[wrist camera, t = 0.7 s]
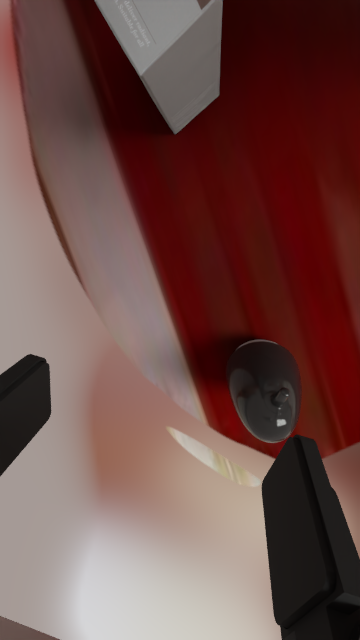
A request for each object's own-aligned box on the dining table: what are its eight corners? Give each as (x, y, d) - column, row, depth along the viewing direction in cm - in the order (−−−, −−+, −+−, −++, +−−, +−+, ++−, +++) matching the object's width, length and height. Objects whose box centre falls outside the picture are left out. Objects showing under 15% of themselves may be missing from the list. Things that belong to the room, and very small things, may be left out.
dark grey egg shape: (302, 336, 38) (343, 411, 24) (280, 389, 42) (303, 477, 29) (234, 322, 39) (236, 385, 25) (220, 375, 43) (215, 454, 30)
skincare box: (134, 67, 28) (36, -70, 14) (186, 9, 26) (131, -233, 11) (176, 140, 30) (129, 85, 16) (228, 93, 28) (226, -22, 14)
